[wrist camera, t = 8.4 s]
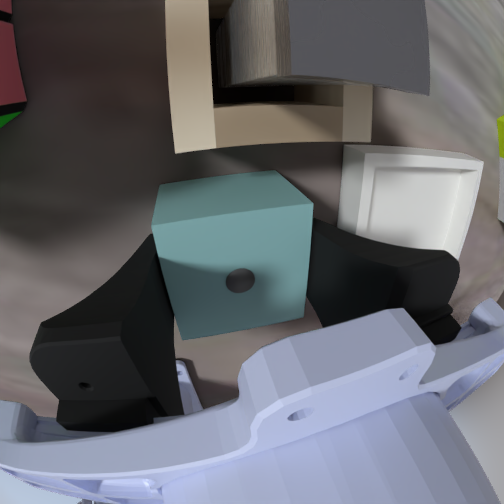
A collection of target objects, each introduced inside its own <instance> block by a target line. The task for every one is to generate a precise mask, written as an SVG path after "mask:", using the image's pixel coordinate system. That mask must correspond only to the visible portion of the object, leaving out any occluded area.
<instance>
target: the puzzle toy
mask: <svg viewBox="0 0 504 504" xmlns="http://www.w3.org/2000/svg"><path fill="white" fill-rule="evenodd" d="M497 126H498V138H499V156H500V189H499V208H498V219H499V220H501V221H502V222H503V223H504V115H503V116H501V117H500V118H498V119H497Z"/></svg>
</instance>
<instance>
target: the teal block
mask: <svg viewBox="0 0 504 504" xmlns="http://www.w3.org/2000/svg"><path fill="white" fill-rule="evenodd" d="M312 218H313V203H312V202H311V201H310V200H309V199H308V198H307V197H306V196H305V195H303V194H302V193H301V192H300V191H299V190H298V189H297V188H295V187H294V186H293V185H292V184H291V183H290V182H289V181H287V180H286V179H285V178H284V177H283V176H281V175H280V174H279V173H278V172H277V171H276V170H270V171H260V172H249V173H240V174H231V175H223V176H215V177H207V178H200V179H193V180H186V181H180V182H173V183H167V184H161V185H160V186H159V190H158V195H157V199H156V204H155V209H154V214H153V219H152V225H151V227H152V231H153V236H154V240H155V244H156V249H157V253H158V257H159V261H160V265H161V269H162V273H163V276H164V280H165V284H166V288H167V291H168V295H169V298H170V302H171V305H172V309H173V312H174V315H175V319H176V322H177V325H178V328H179V331H180V335H181V338H182V340H188V339H195V338H201V337H207V336H213V335H219V334H224V333H230V332H235V331H241V330H246V329H251V328H256V327H261V326H266V325H270V324H275V323H280V322H284V321H289V320H293V319H297V318H302V317H304V308H305V299H306V290H307V280H308V269H309V258H310V246H311V233H312Z"/></svg>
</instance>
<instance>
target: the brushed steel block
mask: <svg viewBox="0 0 504 504" xmlns="http://www.w3.org/2000/svg"><path fill="white" fill-rule="evenodd" d="M216 48H217V68H218V86H219V88H231V87H253V86H292V85H358V86H374V87H383V88H389V89H394V90H398V91H403V92H408V93H414V94H421V95H427V96H429V91H430V62H429V40H428V27H427V17H426V9H425V2H424V0H234V2H233V3H232V5H231V7H230V8H229V10H228V12H227V13H226V15H225V17H224V18H223V20H222V22H221V24H220V25H219V27H218V29H217V31H216Z"/></svg>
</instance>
